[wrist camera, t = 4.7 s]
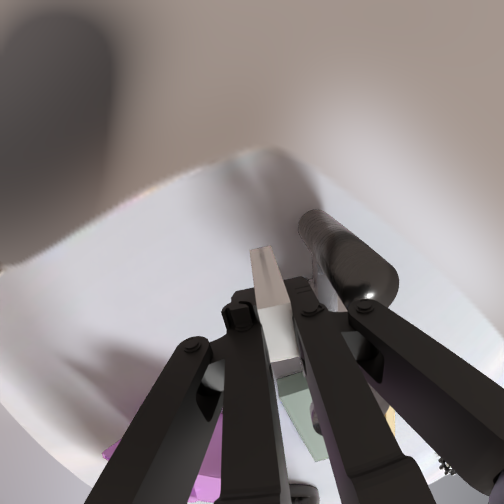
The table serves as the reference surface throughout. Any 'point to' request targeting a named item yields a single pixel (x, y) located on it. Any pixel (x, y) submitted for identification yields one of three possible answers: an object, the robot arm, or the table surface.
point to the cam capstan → (345, 273)
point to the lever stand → (298, 409)
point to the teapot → (209, 472)
